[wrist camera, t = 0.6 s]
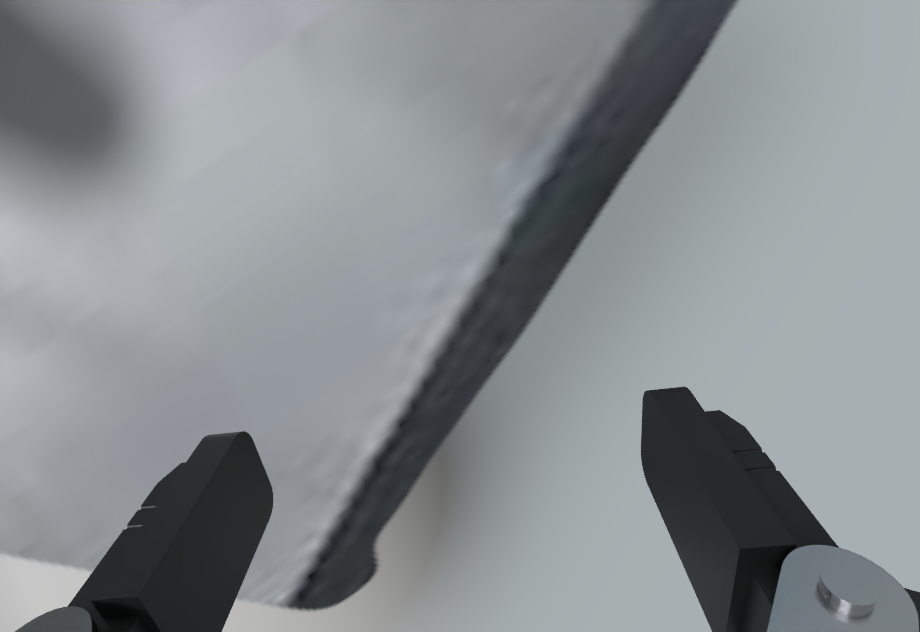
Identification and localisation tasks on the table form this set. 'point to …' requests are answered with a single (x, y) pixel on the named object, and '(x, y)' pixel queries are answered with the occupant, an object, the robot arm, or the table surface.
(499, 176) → the table surface
